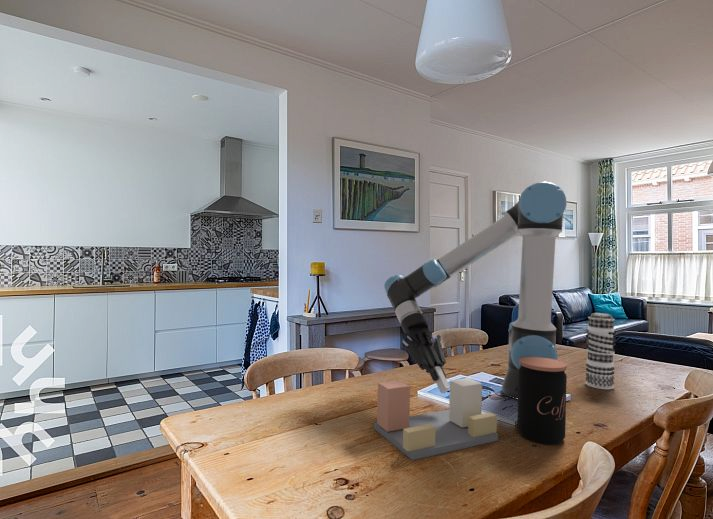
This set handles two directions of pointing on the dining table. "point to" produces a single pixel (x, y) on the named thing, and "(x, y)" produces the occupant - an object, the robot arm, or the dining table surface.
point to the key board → (440, 434)
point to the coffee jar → (542, 399)
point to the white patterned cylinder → (600, 351)
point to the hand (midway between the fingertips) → (445, 390)
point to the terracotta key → (393, 405)
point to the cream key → (464, 400)
